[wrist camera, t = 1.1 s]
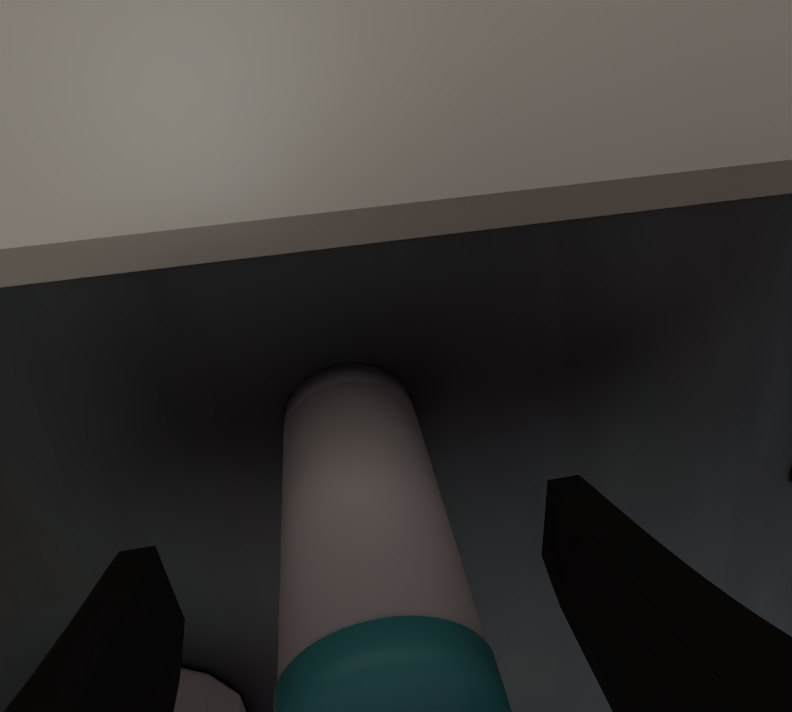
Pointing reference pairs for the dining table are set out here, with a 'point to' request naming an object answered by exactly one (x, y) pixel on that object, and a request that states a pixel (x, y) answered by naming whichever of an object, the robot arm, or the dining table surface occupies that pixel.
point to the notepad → (370, 121)
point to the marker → (371, 561)
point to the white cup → (205, 694)
